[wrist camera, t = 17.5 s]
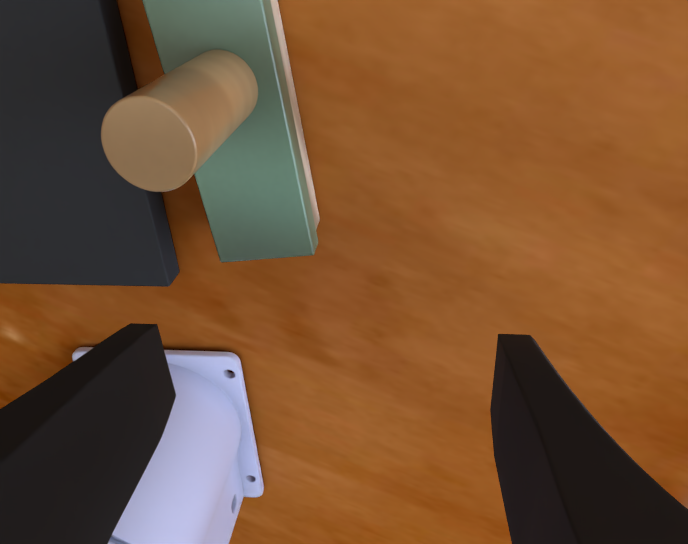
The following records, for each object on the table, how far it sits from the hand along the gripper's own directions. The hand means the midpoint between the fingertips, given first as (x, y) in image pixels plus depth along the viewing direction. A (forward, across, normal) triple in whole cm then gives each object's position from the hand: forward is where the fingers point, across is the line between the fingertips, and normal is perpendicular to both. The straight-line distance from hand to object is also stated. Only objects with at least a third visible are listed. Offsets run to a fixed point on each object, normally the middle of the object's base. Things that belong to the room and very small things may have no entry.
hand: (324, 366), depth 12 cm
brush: (+10, +4, -4) cm, 12 cm away
